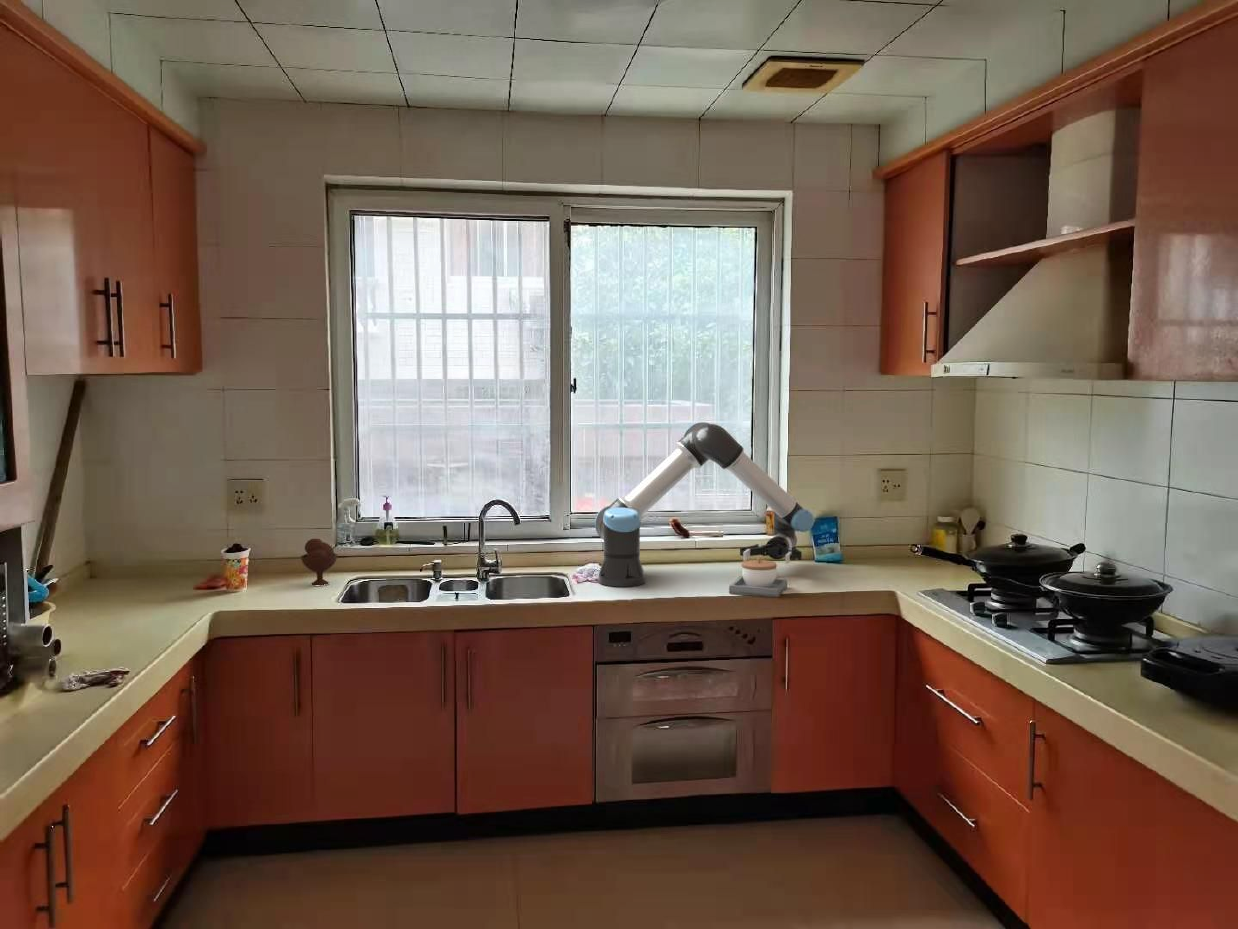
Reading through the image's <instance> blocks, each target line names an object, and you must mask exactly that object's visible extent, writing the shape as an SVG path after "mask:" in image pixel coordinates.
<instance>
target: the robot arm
mask: <svg viewBox="0 0 1238 929" xmlns="http://www.w3.org/2000/svg"><path fill="white" fill-rule="evenodd" d="M675 447H676V448H675V450H674V451H673V452H672V453H671V454H670V455H669V456H668V457H667V458H665V459H664V460H663V461H662V462H661V463H660V464H659V465H658V466H657V467H655V469H654V470H653V471H652V472H650V473H649V474H648V475H647V476H646V477H645V478H643V480H642V481H641V482H640V483H639V484H638V485H636V486H635V487H634V488H633V490H631V491H630V492H629V493H628V494H627V495H626V496H624V497H622V496H621V497H619V496H618V497H617V498H616V499H615V500H614V501H613V502H612V503H611V504H610V505H607V506H605V507H603V508H602V509H600V510H599V511H598V512H597V514H596V517H595V519H594V528H595V530H596V533H597V535H598V536H599V537H600V538H601V540H603V560H602V563H601V566H600V569H599V572H598V576H597V577H598V581H597V582H598V583H599V584H600V585H604V586H608V587H609V586H610V587H622V588H623V587H626V588H627V587H636V586H640V585H644V584H645V582H646V574H645V571H644V568H643V565H642V562H641V557H640V552H641V551H640V550H641V549H640V548H641V547H640V546H641V540H640V538H641V537H640V536H641V535H640V534H641V526H640V525H641V524H642V523H643V516H644V515H645V514H646V513H647V512H648V511H649V510H650V509H651V508H652V507H653V506H654V505H656V504H657V503H658V502H659V501H660V500H661V499H662V498H663V497H664V496H665V495H666V494H668V492H669V491H670V490H671V489H673V487H675V485H677V484H678V483H679V482H680V481H681V480H682V479H683V478H684V477H685V476H686V475H688V474H689V473H690V472H691V471H692V470H693V469H694V468H695V469H700V468H701V467H702V466H703V465H705V464H706V463H707V461H709V460H710V461H712V462H714V463H715V464H717V465H718V466H719V467H721V468H722V469H723V470H729V471H730V473H731V474H732V475H734V476H735V477H736V478H737V479H738V480H739V481H740V482H741V483H742V484H743V485H745V487H746V488H748V489H749V490H750V492H752V493H753V494H755V495H756V496H757V498H759V499H760V500H761V501H762V502H763V503H764V504H765V505H767V507H768V508H770V509H771V510H772V511H773V535H772V537H771V538H770V539H769V540H768V541H767V542H766V544H762V545H761V546H760V544H758V543H756V544H753V545H748V546H744V547H739V556H741V557H742V560H743V561H742V562H744V561H748V560H749V559H750V557H753V556H762V557H769V558H771V559H773V560H781V559H783V558H785V559H784V560H785V563H784V564H786V565H788V564H789V563H790V562H791V561H796V559H797V560H798V561H801V560H802V559H803V558H802V551H801V550H799V549H798V548H797V544H798V537H797V535H796V532H799V533H800V532H801V533H806V532H809V531H810V530H811V529H812V528H813V526H814V523H815V517H814V515H813V513H812V512H811V511H809V510H808V509H805V508H804V507H803V506H802V505H800V504H799V503H798V502H797V500H796V498H793V497H792V496H791V495H790V494H789V493H788V492H787V491H785V489H783V488H782V487H781V486H780V485H779V484H778V482H776V481H775V480H774V479H772V477H771V476H769V474H767V473H766V472H765V471H764V470H763V469H762V468H761V467H760V466H759V465H758V464H757V463H756V462H754V461H753V460H752V459H751V458H750V457H749V456H748V455H747V454H746V453H745V452H744V451H745V450H744V447H743V446H742V445H741V444H740V443H739V442H738V441H737V440H736V439H735V438H734V437H733V436H732V435H731V433H729V432H728V431H727V429H725V428H724V427H723V426H721V425H719V424H714V423H709V422H705V421H704V422H702V421H701V422H697V423H694V424H692V425H691V426H689V427H688V428H687V429H686V430H685V432H684V434H683V437H681V438H680V439H679V440H678V441H677V442H676V446H675Z"/></svg>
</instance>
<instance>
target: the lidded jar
mask: <svg viewBox="0 0 1238 929" xmlns="http://www.w3.org/2000/svg"><path fill="white" fill-rule="evenodd" d="M776 575H777V563H776V562H774V561H770V560H764V559H762V558H761V557H757V558H756V559H750V560H749V559H747V560H746V561H742V562H741V576H743V579H744V581H745V583H746V584H747V585H748V586H749V587H762V588H769V587H770V586H771V585H772V584H773V582H774V580H775V579H776Z"/></svg>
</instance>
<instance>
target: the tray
mask: <svg viewBox="0 0 1238 929" xmlns="http://www.w3.org/2000/svg"><path fill="white" fill-rule="evenodd" d="M787 588H788V578H787V579H786V578H785V579H783V578H775V580H774V582H773V584H772V585H771V586H770V587H769V588H762V587H749V586H748V585H747V584H746V583H745V581H744V579H743V576H742V575H739V577H738V578H737V579H735V580H734V581H733V582H732V583H730V584H729V587H728V593H730V594H729V595H741V596H754V597H763V598H765V597H766V598H774V599H775V598H777V599H778V598H779V597H781V595H782V594H783V593H784V592H783V591H786V590H787ZM782 592H783V593H782Z"/></svg>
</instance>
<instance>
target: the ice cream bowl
mask: <svg viewBox="0 0 1238 929" xmlns="http://www.w3.org/2000/svg"><path fill="white" fill-rule="evenodd" d="M304 551H305V552H306V553H304V554H303V555H301V556H300V559H301V563H302V564H303V565H304V567H306V568H307V569H309V570H310V571H312V572H313V573H315V574H316V579H315V580H314V581H312V582H311V584H312V585H324V584H328V583H329V584H330V582H329V581H327V580H326V579H323V578H324V576H323V575H324V572H326V571H328V570H329V569H330V568H332V567H333V566H334V565H335V563H336V562H337V559H338V553H335V552H334V548H333V547H332V545H330V544H329V543H326V542H325V541H322V540H321V539H320V538H311V539H309V540H306V543H305V545H304ZM311 584H310V585H311ZM329 584H328V585H329ZM312 585H311V586H312Z"/></svg>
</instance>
